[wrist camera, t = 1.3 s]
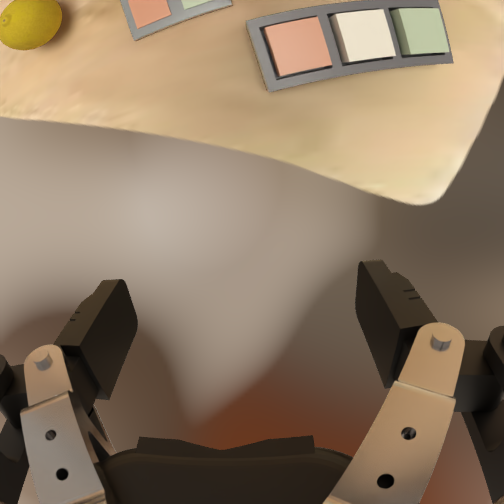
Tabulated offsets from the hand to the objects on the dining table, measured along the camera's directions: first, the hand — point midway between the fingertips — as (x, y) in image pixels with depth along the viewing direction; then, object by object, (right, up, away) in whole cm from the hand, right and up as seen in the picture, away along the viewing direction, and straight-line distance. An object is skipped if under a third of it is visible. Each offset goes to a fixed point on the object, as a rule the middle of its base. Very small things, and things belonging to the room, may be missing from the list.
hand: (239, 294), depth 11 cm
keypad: (+9, +20, +12) cm, 25 cm away
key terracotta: (+4, +18, +11) cm, 21 cm away
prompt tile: (-6, +23, +10) cm, 26 cm away
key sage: (+14, +20, +10) cm, 26 cm away
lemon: (-19, +24, +10) cm, 32 cm away
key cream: (+9, +19, +10) cm, 23 cm away
